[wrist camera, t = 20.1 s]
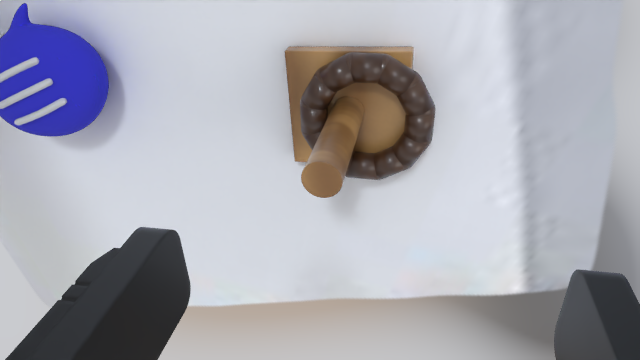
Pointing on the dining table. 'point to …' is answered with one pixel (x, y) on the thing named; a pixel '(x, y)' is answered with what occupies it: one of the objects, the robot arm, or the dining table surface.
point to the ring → (391, 78)
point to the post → (342, 116)
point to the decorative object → (49, 78)
